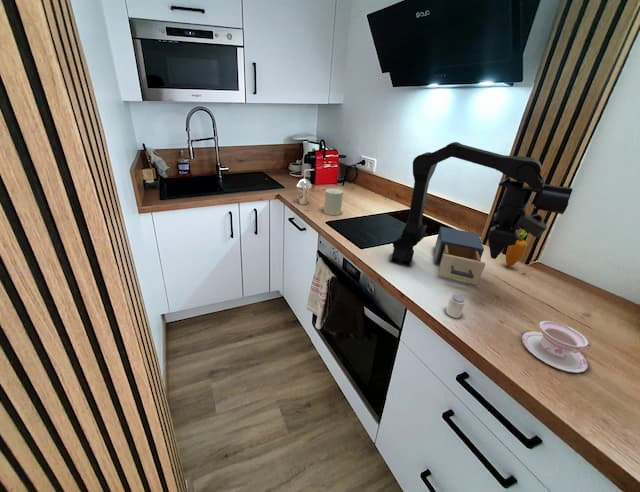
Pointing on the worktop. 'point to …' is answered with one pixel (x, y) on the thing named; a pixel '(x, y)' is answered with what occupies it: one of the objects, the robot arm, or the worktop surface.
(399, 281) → the worktop surface
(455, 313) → the salt shaker
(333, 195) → the can
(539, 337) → the teacup
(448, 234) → the cabinet
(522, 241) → the carrot
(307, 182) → the cup with straw
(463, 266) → the drawer
